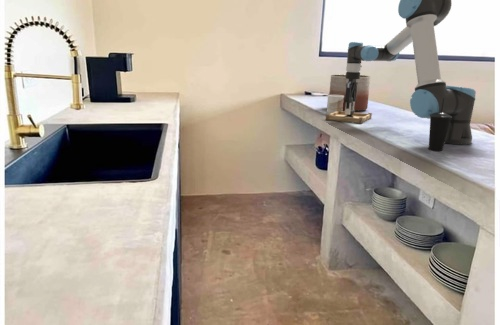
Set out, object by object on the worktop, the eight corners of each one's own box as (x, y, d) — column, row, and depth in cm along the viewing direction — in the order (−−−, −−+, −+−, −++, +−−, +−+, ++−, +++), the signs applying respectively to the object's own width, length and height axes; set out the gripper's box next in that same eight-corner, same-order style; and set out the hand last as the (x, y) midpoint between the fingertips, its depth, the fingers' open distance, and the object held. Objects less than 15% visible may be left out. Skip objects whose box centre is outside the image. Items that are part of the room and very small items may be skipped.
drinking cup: (423, 150, 144) (430, 98, 138) (426, 146, 150) (434, 96, 144) (444, 153, 140) (453, 100, 134) (447, 149, 146) (456, 98, 140)
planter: (361, 113, 231) (364, 77, 224) (322, 110, 243) (324, 75, 237) (371, 108, 252) (374, 75, 245) (335, 105, 264) (337, 74, 258)
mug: (322, 113, 231) (323, 95, 228) (334, 111, 238) (335, 93, 235) (336, 115, 223) (338, 96, 220) (347, 113, 231) (349, 95, 228)
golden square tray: (361, 123, 197) (362, 117, 196) (325, 119, 207) (326, 114, 206) (371, 118, 213) (371, 113, 212) (337, 115, 223) (338, 109, 222)
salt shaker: (353, 118, 206) (355, 96, 202) (343, 117, 208) (344, 95, 205) (354, 116, 211) (357, 95, 208) (344, 115, 213) (346, 94, 210)
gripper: (354, 72, 193) (350, 116, 199) (364, 71, 208) (360, 112, 215) (340, 71, 197) (337, 115, 203) (351, 70, 212) (348, 111, 219)
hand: (349, 113), depth 209 cm, fingers closed on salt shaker, 6 cm apart
